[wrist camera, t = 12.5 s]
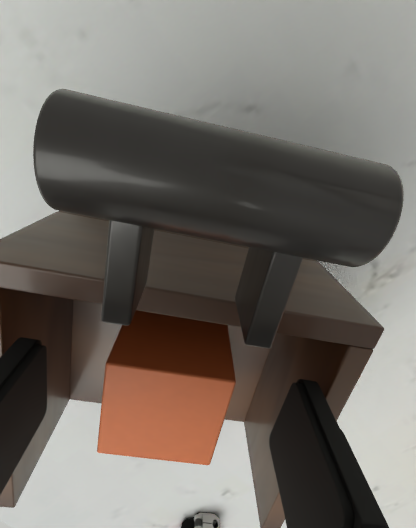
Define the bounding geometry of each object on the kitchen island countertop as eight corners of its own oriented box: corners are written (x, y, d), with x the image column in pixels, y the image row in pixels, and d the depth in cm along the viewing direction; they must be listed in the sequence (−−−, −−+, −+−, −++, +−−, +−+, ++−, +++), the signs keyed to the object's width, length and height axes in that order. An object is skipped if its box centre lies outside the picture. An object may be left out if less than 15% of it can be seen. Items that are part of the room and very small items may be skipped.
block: (124, 370, 15) (96, 453, 11) (133, 296, 14) (104, 363, 10) (207, 381, 16) (209, 466, 12) (226, 312, 14) (237, 382, 10)
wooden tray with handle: (68, 103, 11) (-281, 2, 3) (345, 167, 12) (621, 215, 4) (60, 386, 17) (-73, 620, 9) (254, 412, 18) (299, 639, 10)
